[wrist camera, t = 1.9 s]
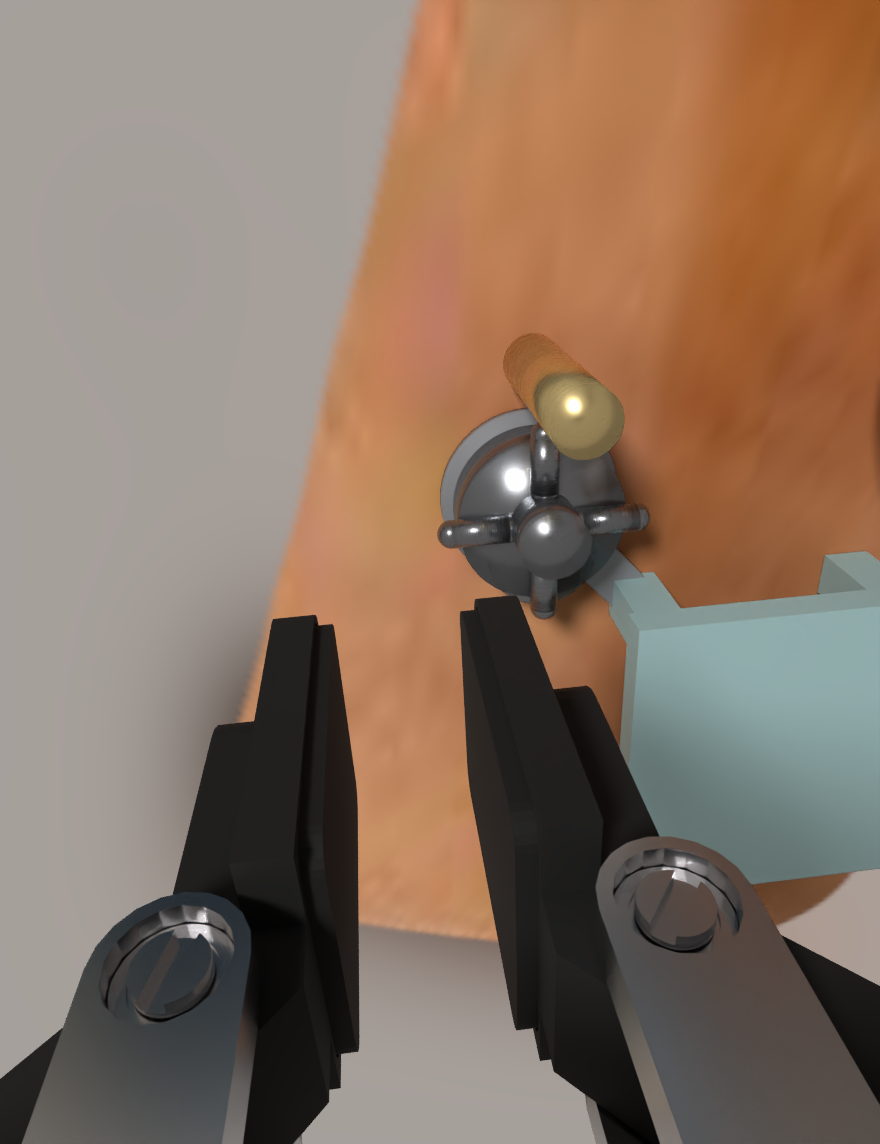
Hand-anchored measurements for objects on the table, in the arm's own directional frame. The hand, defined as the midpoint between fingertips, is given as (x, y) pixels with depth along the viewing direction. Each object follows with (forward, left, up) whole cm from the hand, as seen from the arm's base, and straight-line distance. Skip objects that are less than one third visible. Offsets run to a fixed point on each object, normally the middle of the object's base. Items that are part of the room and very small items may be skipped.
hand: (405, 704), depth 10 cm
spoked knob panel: (+13, +11, -19) cm, 26 cm away
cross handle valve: (+4, +5, -18) cm, 20 cm away
